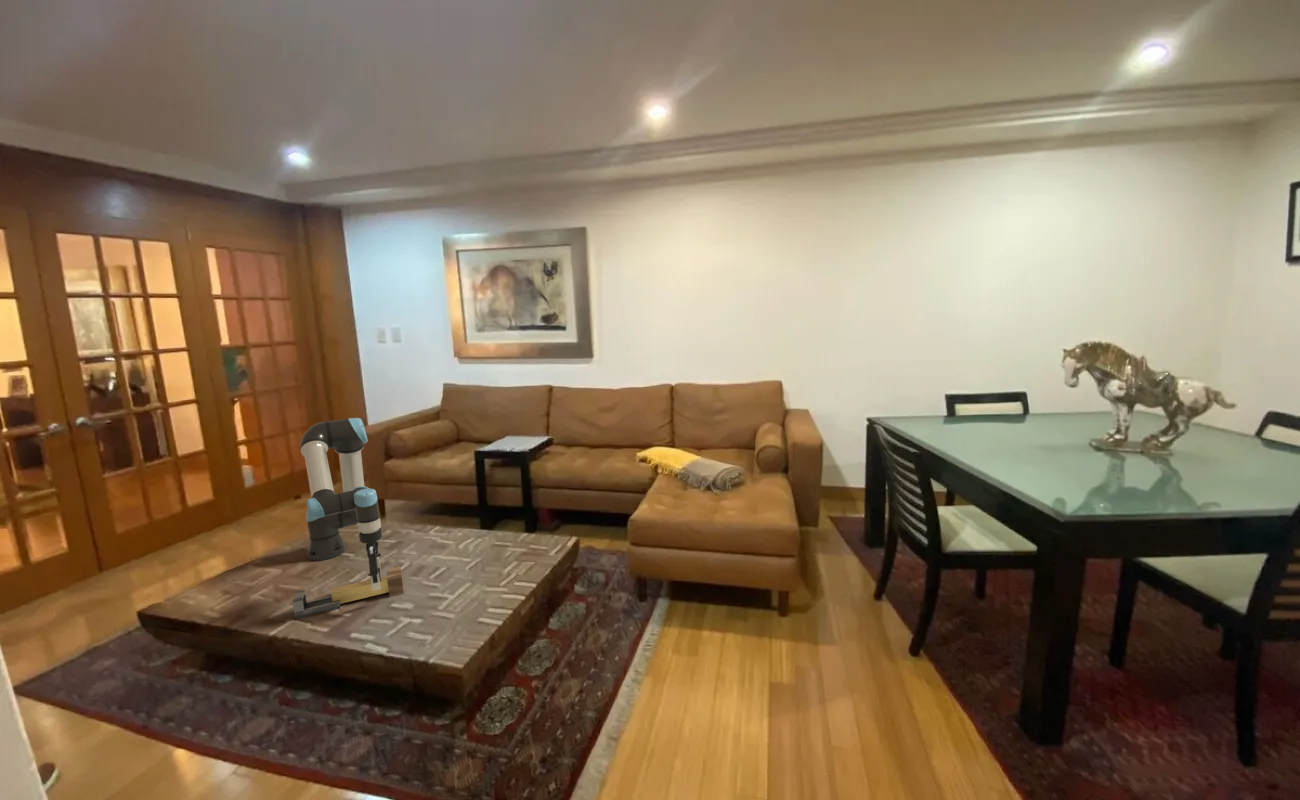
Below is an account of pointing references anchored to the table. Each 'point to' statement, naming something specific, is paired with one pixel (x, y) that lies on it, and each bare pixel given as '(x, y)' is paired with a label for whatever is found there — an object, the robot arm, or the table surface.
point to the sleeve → (312, 605)
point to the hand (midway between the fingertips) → (377, 581)
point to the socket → (395, 581)
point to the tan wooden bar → (358, 590)
